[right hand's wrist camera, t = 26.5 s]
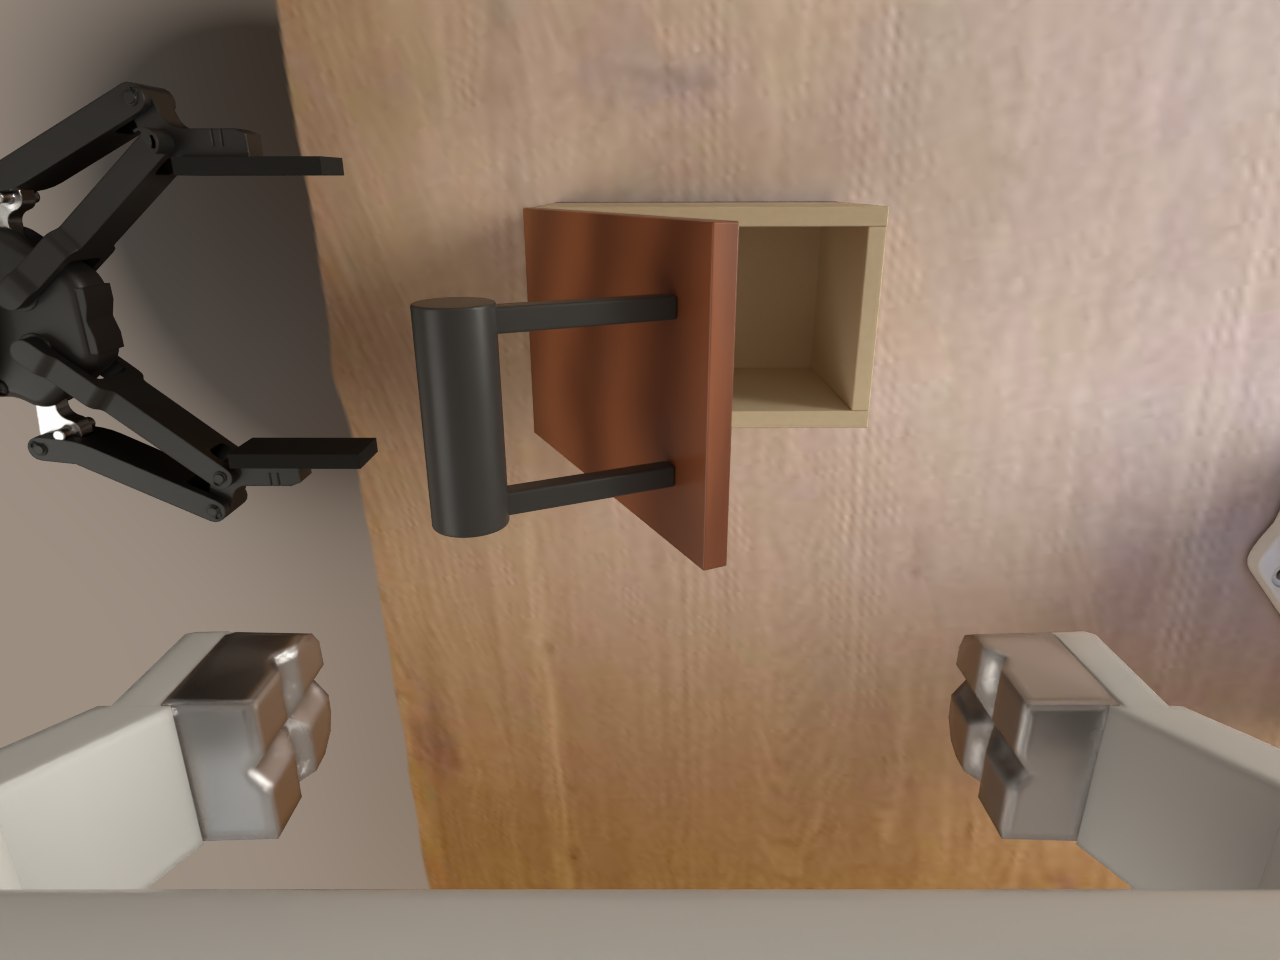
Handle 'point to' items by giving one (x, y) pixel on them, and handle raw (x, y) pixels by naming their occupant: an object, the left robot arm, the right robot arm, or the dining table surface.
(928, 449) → the dining table surface
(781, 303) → the chest
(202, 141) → the left robot arm
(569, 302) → the lid
